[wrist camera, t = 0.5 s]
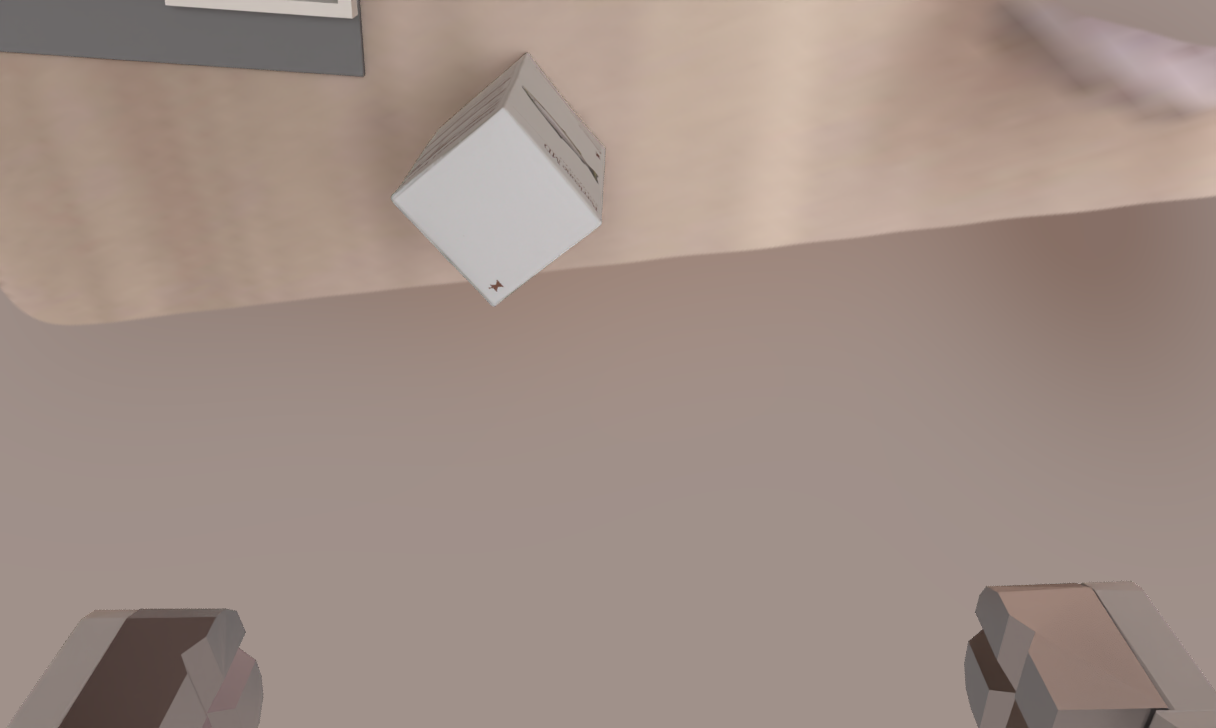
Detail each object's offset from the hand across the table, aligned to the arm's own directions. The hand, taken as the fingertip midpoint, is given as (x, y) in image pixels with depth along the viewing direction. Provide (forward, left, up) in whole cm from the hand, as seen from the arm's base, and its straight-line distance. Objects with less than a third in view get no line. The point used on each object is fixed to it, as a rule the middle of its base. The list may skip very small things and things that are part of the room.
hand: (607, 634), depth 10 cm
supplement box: (+8, -5, -45) cm, 46 cm away
